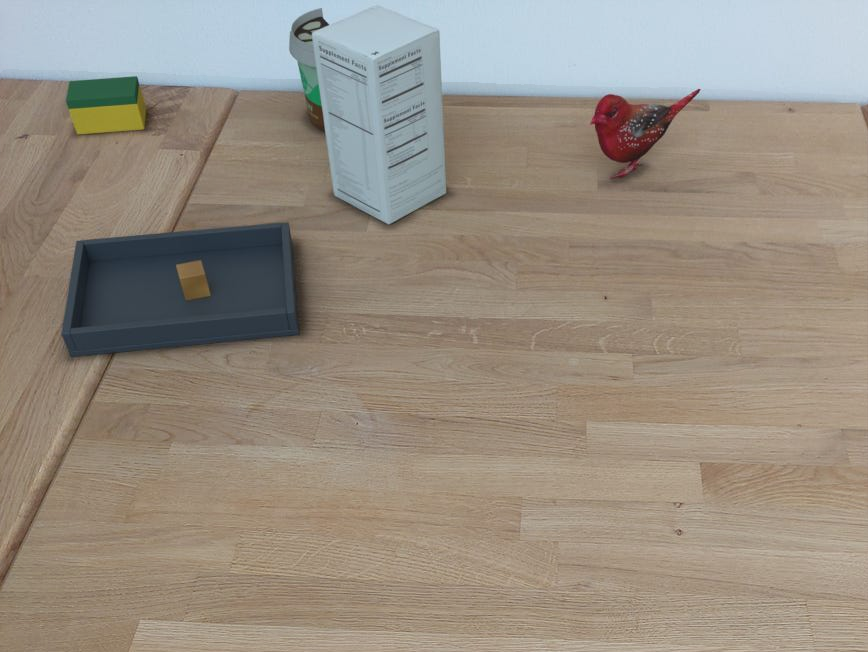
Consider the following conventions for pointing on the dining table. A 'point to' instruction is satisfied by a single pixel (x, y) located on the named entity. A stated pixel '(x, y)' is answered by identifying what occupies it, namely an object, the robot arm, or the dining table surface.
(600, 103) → the decorative bird figurine
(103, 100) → the sponge
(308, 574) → the dining table surface
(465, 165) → the dining table surface
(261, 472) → the dining table surface
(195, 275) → the small brown block
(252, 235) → the tray
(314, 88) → the food container
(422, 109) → the supplement box
